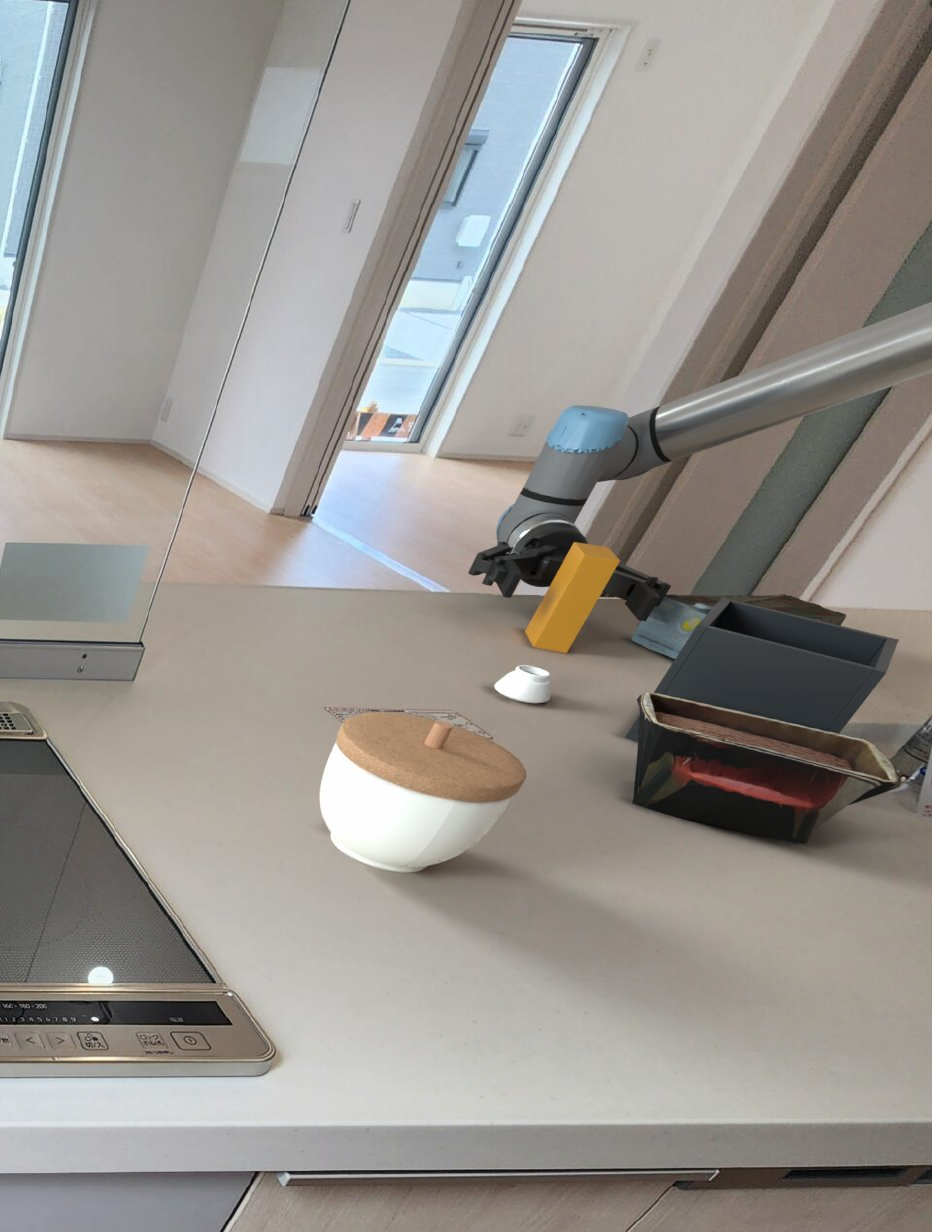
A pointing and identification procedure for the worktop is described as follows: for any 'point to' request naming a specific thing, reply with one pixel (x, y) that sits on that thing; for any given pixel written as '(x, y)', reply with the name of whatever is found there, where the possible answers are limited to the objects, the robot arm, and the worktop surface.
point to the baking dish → (750, 769)
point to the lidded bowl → (413, 790)
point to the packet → (571, 596)
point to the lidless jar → (526, 685)
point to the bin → (777, 666)
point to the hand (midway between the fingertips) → (579, 597)
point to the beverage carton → (685, 612)
